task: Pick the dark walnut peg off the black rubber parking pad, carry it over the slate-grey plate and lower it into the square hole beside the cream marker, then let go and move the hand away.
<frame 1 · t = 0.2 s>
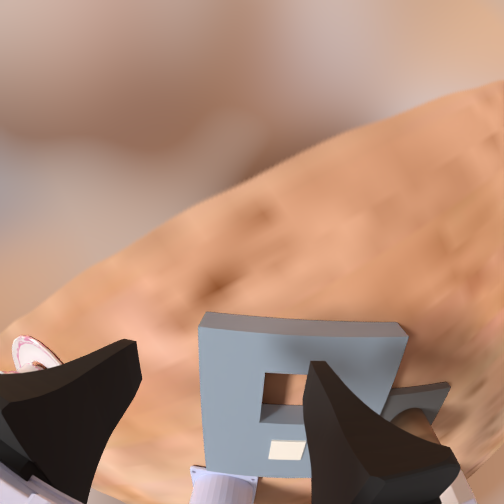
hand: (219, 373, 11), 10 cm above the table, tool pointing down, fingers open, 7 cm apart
hole plate: (291, 407, 22), on the table
walnut peg: (405, 421, 21), point 1 cm above the table, touching parking pad
parking pad: (402, 415, 22), on the table
milk carton: (435, 479, 26), on the table
teacup: (46, 376, 25), on the table
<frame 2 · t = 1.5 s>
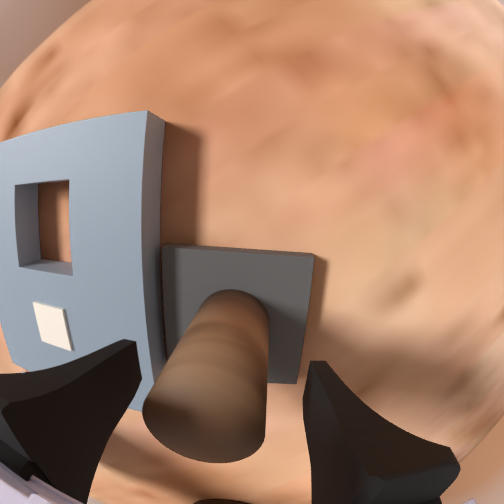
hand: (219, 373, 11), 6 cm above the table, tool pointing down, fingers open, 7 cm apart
hole plate: (66, 265, 17), on the table
walnut peg: (232, 323, 15), point 1 cm above the table, touching parking pad
parking pad: (235, 315, 16), on the table
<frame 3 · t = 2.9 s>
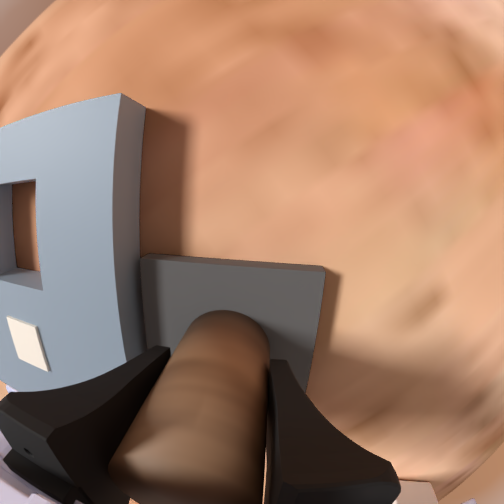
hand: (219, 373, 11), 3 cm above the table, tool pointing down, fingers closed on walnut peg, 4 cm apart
hole plate: (41, 275, 14), on the table
walnut peg: (226, 348, 13), point 1 cm above the table, touching gripper, parking pad
parking pad: (229, 338, 14), on the table
milk carton: (383, 496, 17), on the table
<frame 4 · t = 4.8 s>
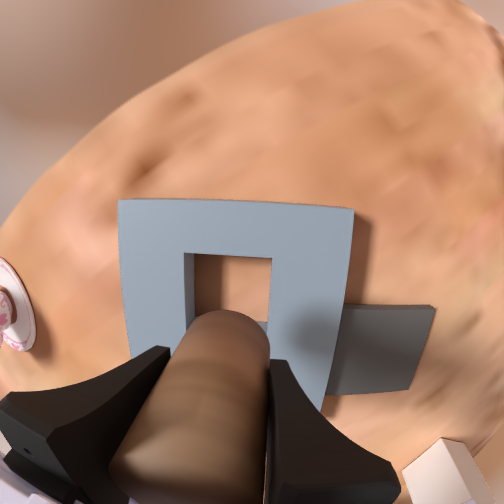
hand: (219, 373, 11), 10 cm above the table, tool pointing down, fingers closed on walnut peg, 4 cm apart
hole plate: (230, 322, 21), on the table
walnut peg: (226, 348, 13), point 8 cm above the table, touching gripper
parking pad: (377, 349, 21), on the table
milk carton: (433, 455, 24), on the table
teacup: (7, 303, 24), on the table
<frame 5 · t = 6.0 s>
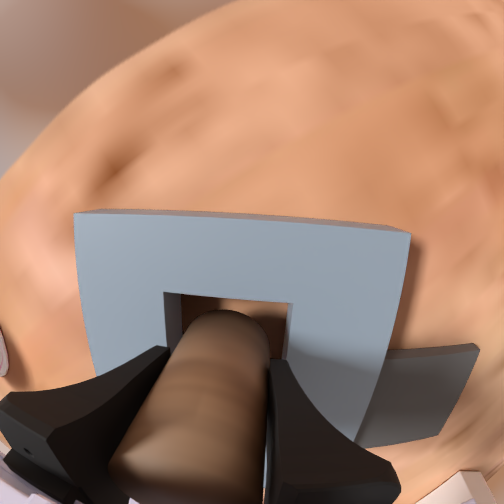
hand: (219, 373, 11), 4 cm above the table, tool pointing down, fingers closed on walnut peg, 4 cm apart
hole plate: (231, 373, 15), on the table
walnut peg: (226, 348, 13), point 2 cm above the table, touching gripper
parking pad: (410, 397, 15), on the table
milk carton: (448, 486, 18), on the table
when the fingers open (4 cm above the table, at t = 7.0 s): walnut peg drops 2 cm, resting in hole plate.
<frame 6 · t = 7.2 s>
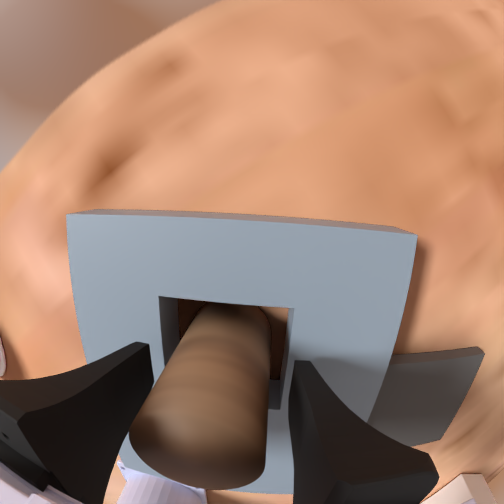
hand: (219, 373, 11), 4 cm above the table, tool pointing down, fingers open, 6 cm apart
hole plate: (229, 379, 15), on the table
walnut peg: (231, 333, 14), resting in hole plate
parking pad: (413, 401, 14), on the table
milk carton: (450, 488, 18), on the table
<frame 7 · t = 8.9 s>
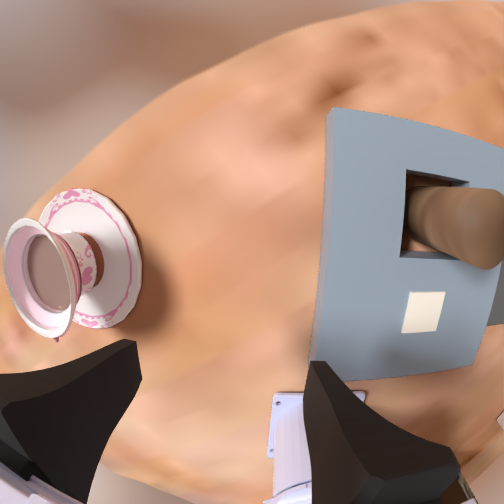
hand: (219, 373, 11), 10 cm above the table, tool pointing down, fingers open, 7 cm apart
hole plate: (416, 254, 18), on the table
walnut peg: (421, 213, 18), resting in hole plate
olive oil: (420, 470, 24), on the table
teacup: (84, 259, 21), on the table
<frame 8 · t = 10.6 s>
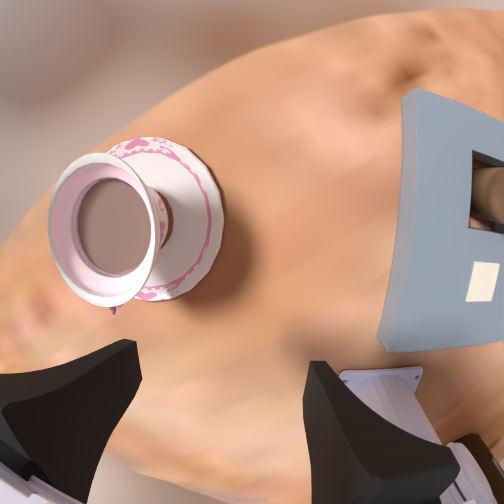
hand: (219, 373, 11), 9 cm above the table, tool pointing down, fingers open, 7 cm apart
hole plate: (472, 230, 17), on the table
walnut peg: (476, 193, 17), resting in hole plate
olive oil: (452, 455, 23), on the table
teacup: (144, 220, 20), on the table
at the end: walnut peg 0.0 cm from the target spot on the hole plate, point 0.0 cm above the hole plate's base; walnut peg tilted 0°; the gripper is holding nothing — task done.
